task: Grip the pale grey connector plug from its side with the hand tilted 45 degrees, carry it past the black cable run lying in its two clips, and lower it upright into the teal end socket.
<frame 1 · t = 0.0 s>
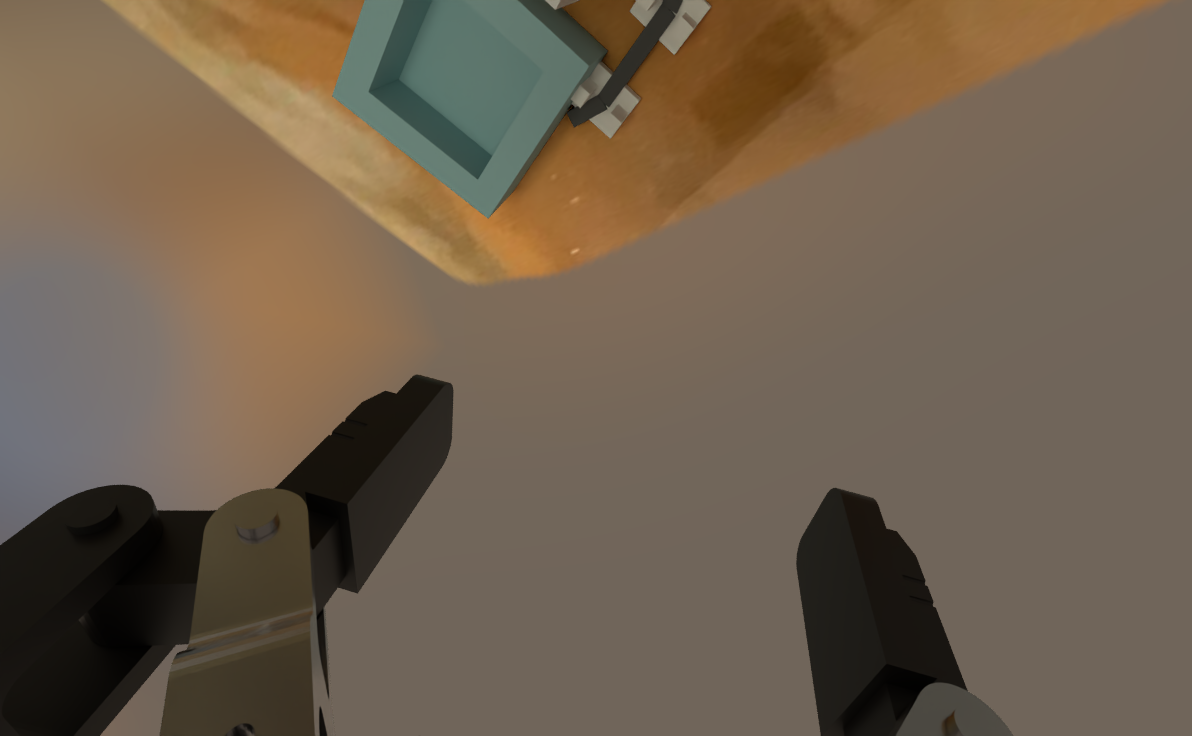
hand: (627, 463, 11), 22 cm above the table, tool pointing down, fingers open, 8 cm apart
cable run: (670, 8, 25), on the table
end socket: (484, 66, 28), on the table
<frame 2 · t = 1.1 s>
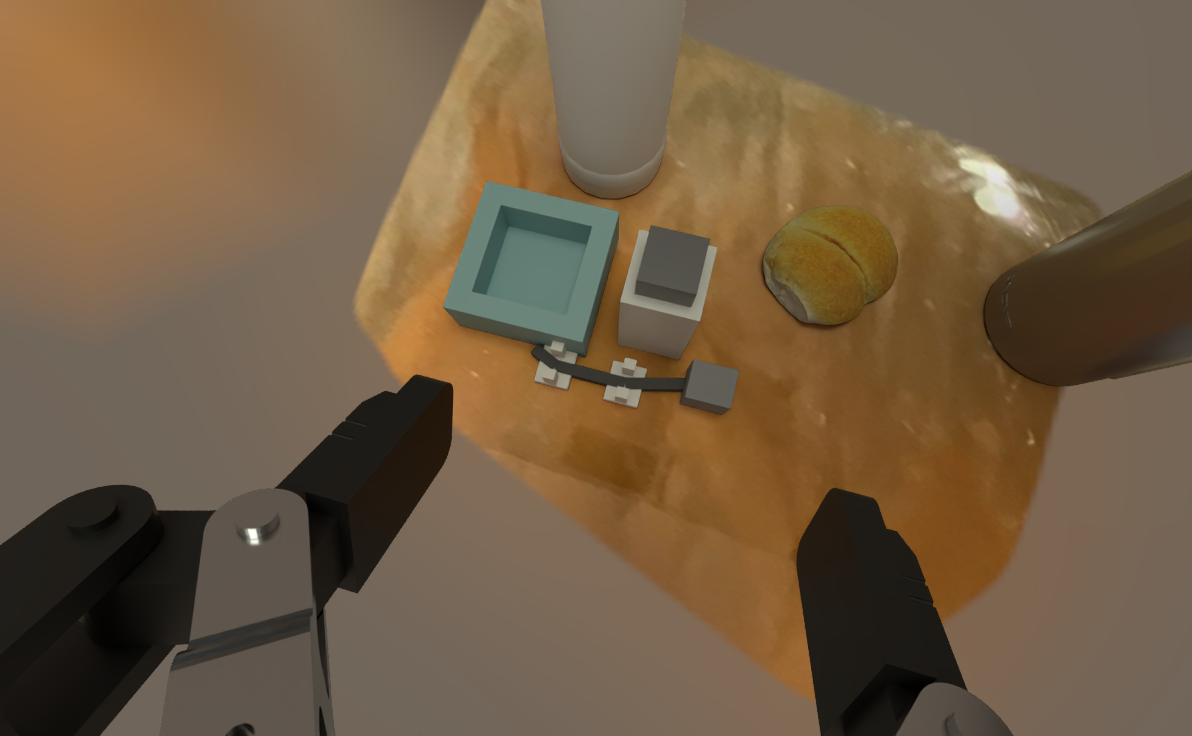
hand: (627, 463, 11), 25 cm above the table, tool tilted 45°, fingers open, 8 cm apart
bread roll: (821, 273, 39), on the table
bottle: (612, 156, 42), on the table
cable run: (625, 385, 37), on the table
end socket: (540, 281, 39), on the table
connector: (655, 323, 38), on the table
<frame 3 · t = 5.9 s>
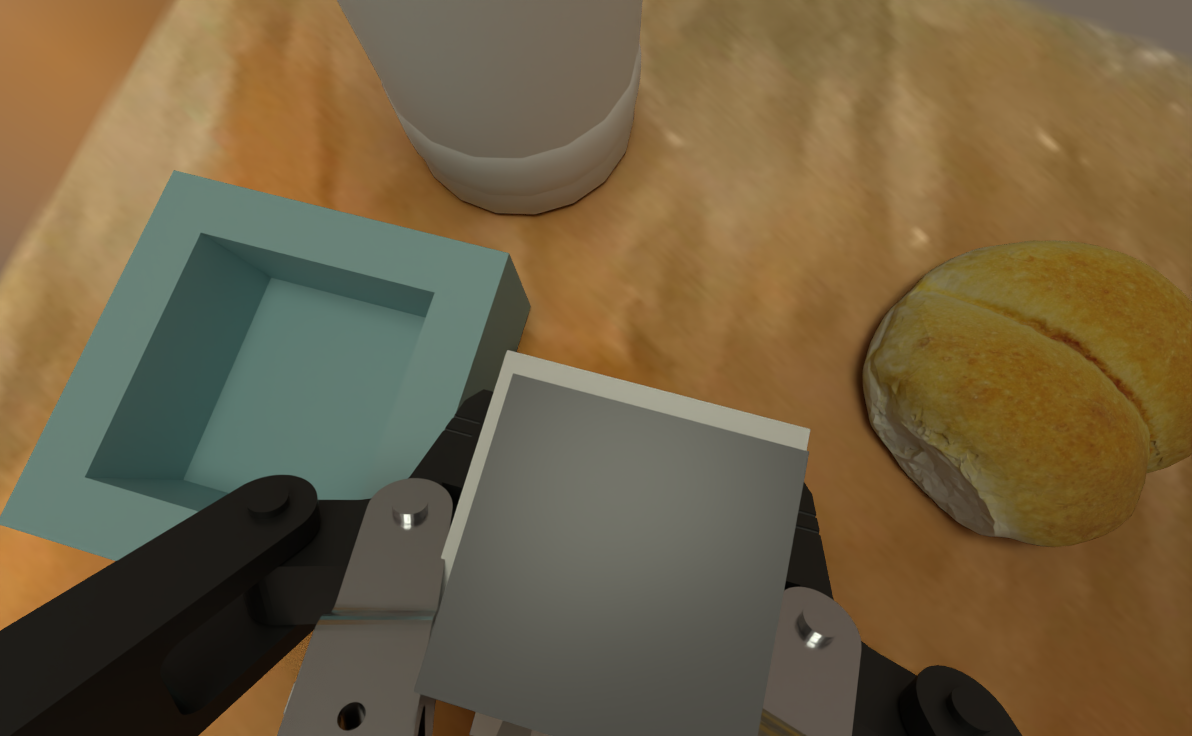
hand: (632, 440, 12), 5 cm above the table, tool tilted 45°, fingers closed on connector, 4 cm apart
bread roll: (993, 395, 17), on the table
bottle: (525, 123, 19), on the table
cable run: (530, 683, 15), on the table
end socket: (344, 406, 17), on the table
connector: (610, 516, 16), on the table, touching gripper
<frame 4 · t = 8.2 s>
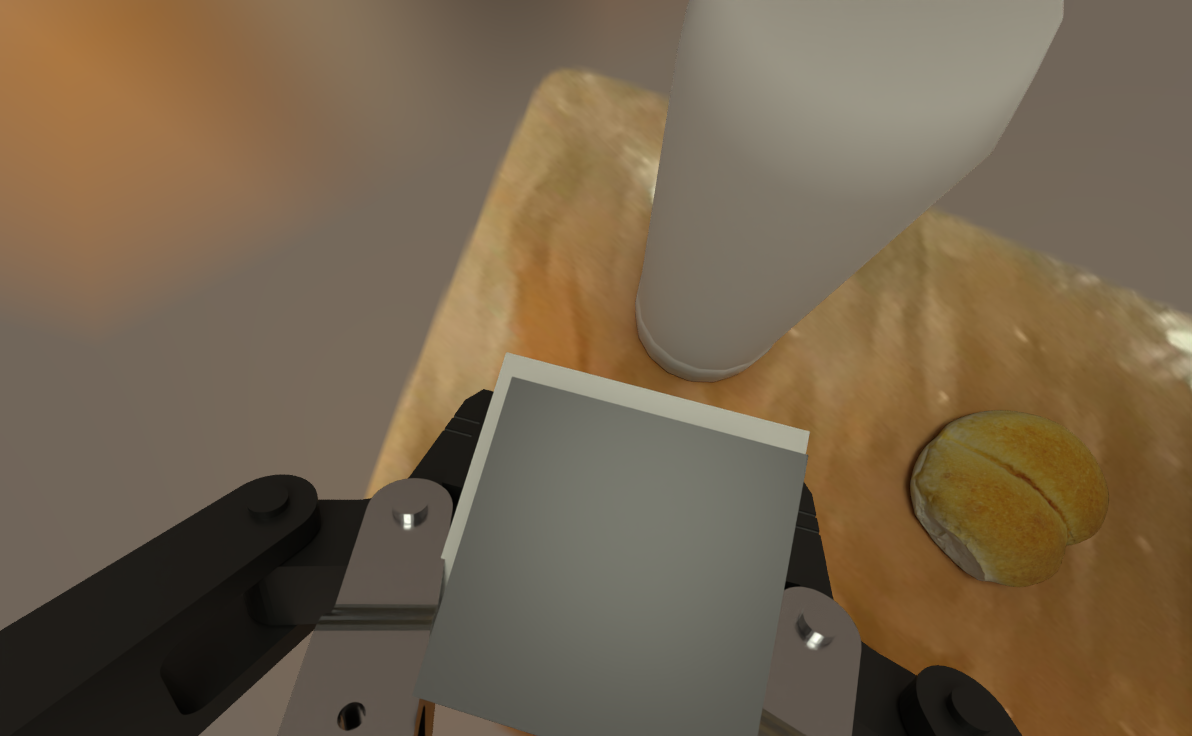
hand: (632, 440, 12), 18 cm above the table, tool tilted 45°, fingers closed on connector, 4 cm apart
bread roll: (985, 495, 29), on the table
bottle: (700, 319, 31), on the table
connector: (610, 517, 16), point 13 cm above the table, touching gripper
when the fingers open (7 cm above the table, at t = 10.6 s): connector drops 1 cm, resting on end socket.
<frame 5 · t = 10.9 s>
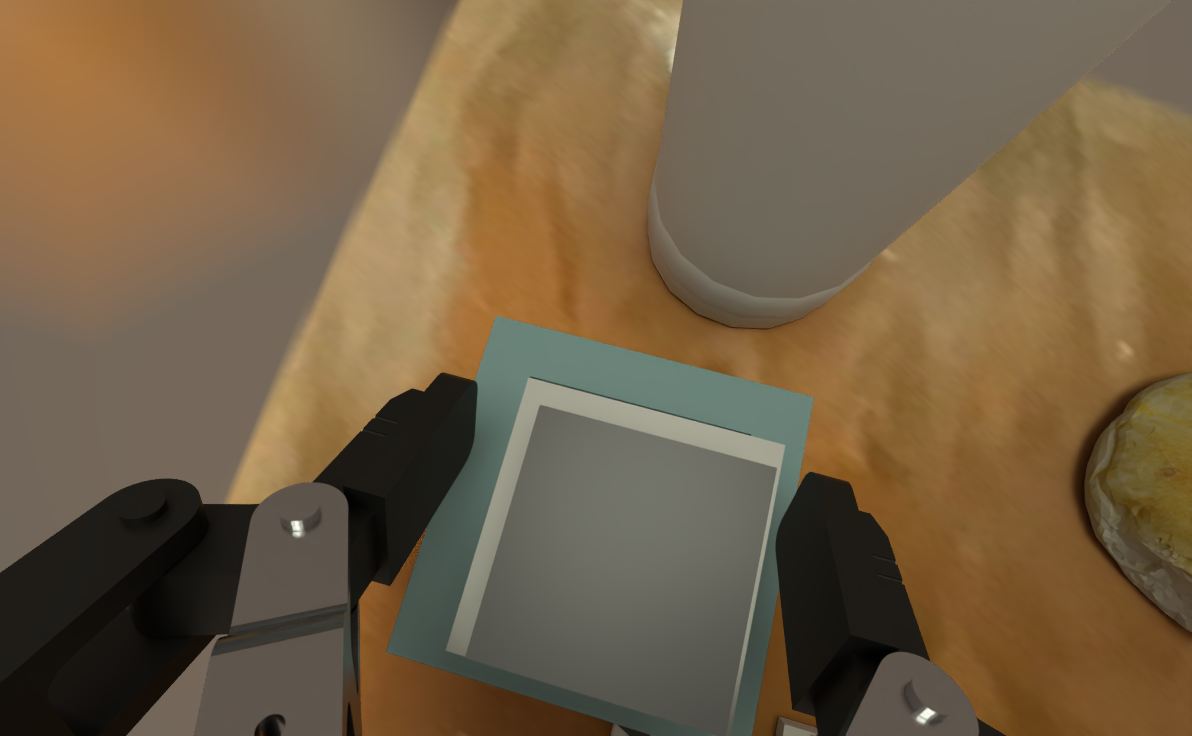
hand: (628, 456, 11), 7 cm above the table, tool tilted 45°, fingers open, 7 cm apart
bottle: (745, 237, 21), on the table
end socket: (608, 512, 18), on the table
connector: (613, 517, 17), point 1 cm above the table, touching end socket
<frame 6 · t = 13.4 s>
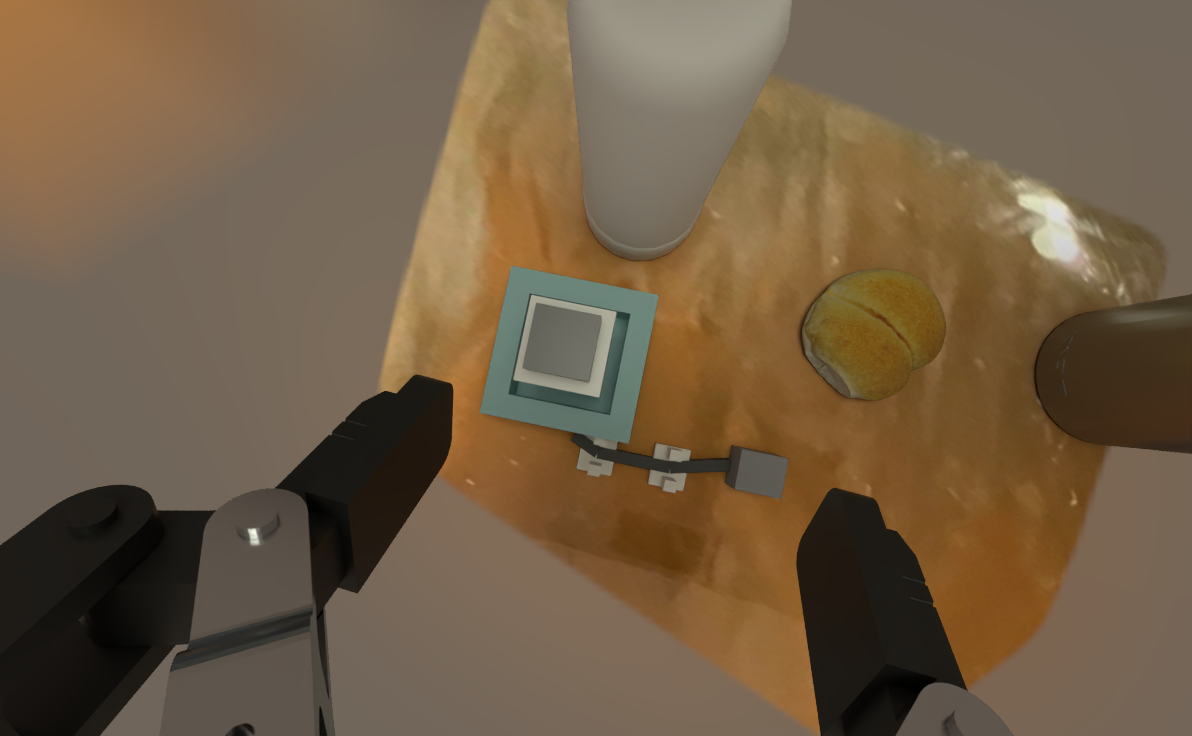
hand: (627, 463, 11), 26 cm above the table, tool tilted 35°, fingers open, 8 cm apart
bread roll: (861, 337, 38), on the table
bottle: (640, 209, 38), on the table
cable run: (668, 466, 37), on the table
end socket: (573, 358, 37), on the table
connector: (574, 358, 36), point 1 cm above the table, touching end socket
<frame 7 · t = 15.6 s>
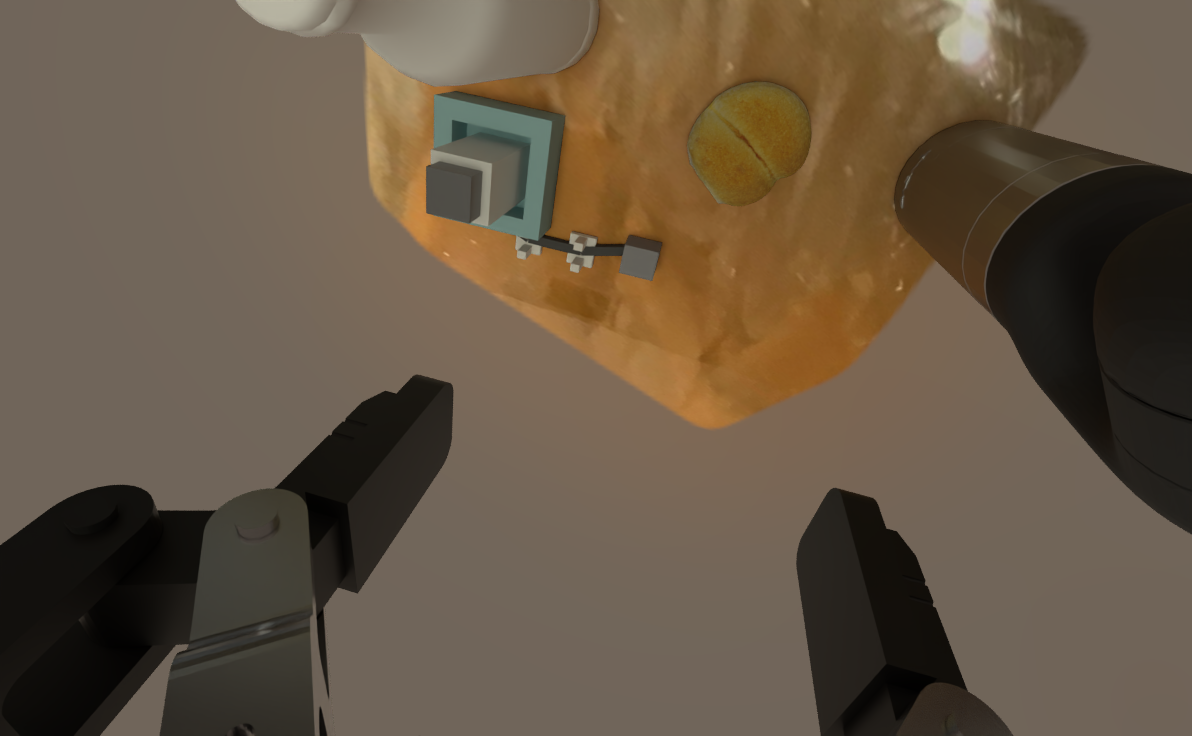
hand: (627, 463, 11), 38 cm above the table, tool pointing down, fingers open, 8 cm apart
bread roll: (746, 144, 42), on the table
bottle: (550, 13, 40), on the table
cable run: (582, 248, 49), on the table
end socket: (505, 162, 47), on the table
connector: (503, 165, 46), point 1 cm above the table, touching end socket
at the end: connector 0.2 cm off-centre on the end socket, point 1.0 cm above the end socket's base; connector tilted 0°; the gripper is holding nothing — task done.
